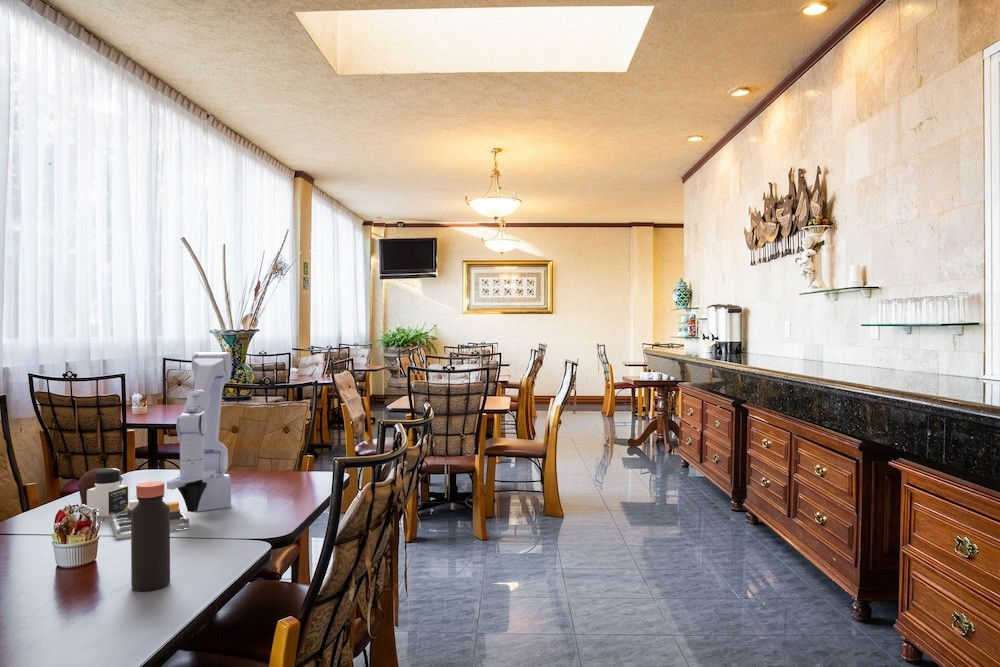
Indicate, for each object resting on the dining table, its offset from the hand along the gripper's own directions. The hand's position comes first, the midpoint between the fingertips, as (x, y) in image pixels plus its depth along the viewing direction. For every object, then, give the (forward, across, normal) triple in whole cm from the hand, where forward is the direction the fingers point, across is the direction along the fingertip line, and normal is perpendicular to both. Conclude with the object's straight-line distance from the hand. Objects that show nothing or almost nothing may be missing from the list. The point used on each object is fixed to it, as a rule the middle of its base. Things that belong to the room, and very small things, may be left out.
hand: (192, 511), depth 177 cm
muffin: (+3, -6, -40) cm, 41 cm away
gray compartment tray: (+3, +6, -9) cm, 11 cm away
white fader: (+2, +6, -14) cm, 15 cm away
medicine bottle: (+3, +1, -29) cm, 29 cm away
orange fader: (+2, +4, -3) cm, 5 cm away
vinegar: (+3, +36, +26) cm, 45 cm away
